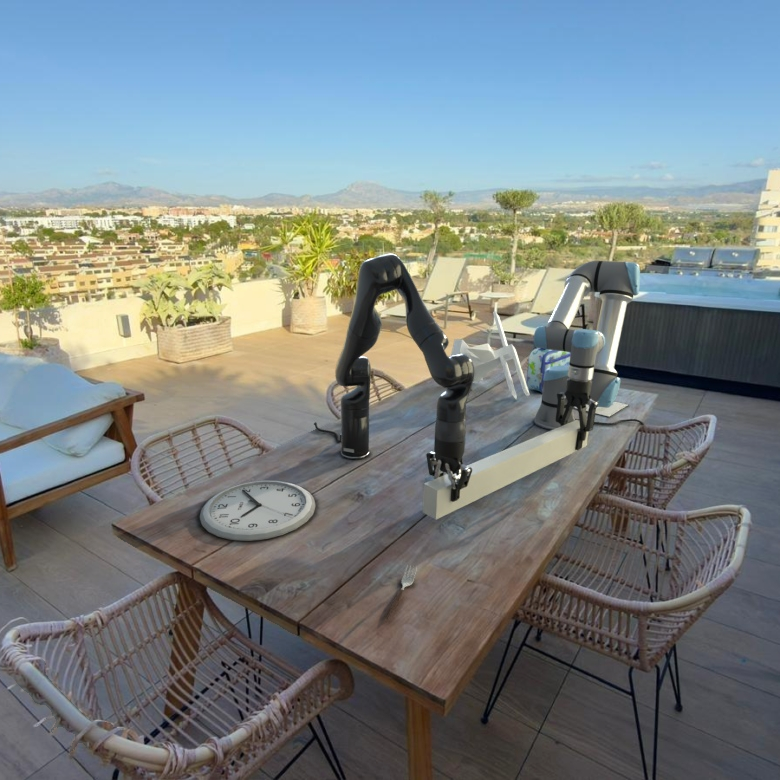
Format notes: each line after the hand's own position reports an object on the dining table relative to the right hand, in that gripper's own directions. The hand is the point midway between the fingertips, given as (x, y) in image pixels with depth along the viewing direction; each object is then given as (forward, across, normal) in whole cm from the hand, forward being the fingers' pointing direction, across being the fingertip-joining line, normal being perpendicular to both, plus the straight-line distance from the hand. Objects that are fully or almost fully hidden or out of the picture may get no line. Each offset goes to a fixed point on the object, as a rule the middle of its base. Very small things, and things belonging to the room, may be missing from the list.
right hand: (571, 446), depth 173 cm
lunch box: (+5, -50, +65) cm, 82 cm away
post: (+1, 0, -30) cm, 30 cm away
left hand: (-2, 0, -60) cm, 60 cm away
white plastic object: (+5, -66, +34) cm, 75 cm away
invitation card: (+5, -20, +60) cm, 63 cm away
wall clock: (+5, -36, -95) cm, 101 cm away
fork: (+5, +14, -89) cm, 90 cm away
